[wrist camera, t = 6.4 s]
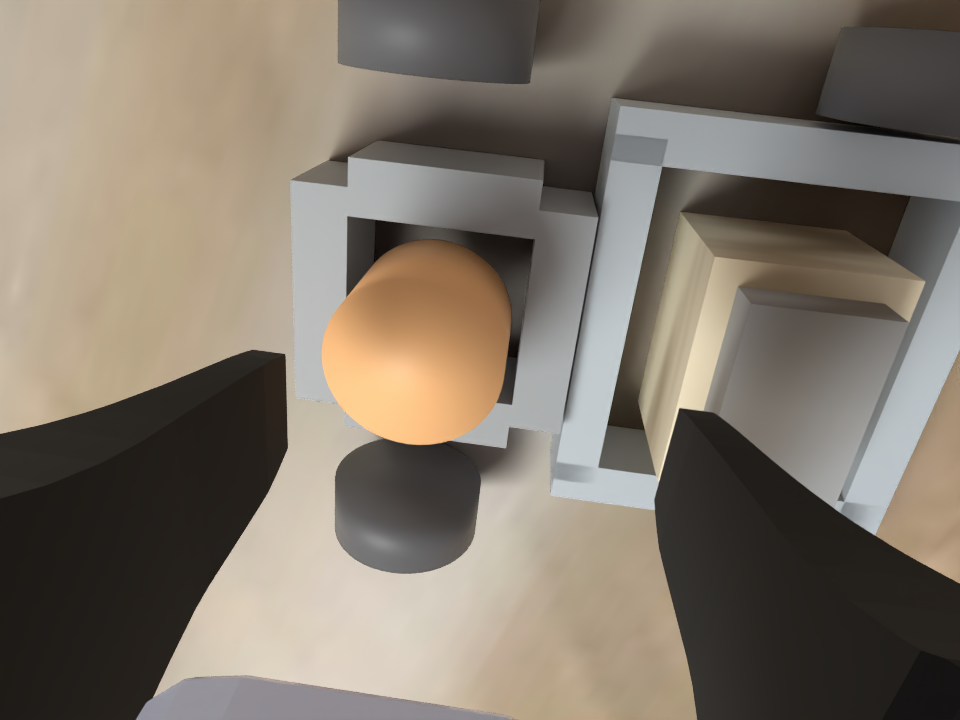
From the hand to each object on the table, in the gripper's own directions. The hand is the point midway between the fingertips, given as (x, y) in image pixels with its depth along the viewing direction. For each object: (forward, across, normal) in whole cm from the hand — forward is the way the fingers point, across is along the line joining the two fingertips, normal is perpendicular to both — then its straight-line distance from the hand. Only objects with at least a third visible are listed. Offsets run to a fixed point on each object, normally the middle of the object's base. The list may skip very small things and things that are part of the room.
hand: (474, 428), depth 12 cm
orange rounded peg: (+6, +2, 0) cm, 6 cm away
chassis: (+8, -4, 0) cm, 9 cm away
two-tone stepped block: (+8, -7, 0) cm, 11 cm away
